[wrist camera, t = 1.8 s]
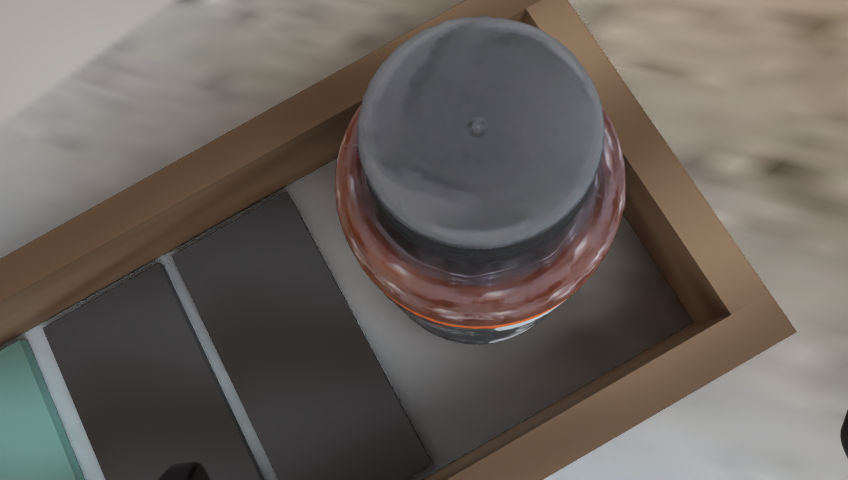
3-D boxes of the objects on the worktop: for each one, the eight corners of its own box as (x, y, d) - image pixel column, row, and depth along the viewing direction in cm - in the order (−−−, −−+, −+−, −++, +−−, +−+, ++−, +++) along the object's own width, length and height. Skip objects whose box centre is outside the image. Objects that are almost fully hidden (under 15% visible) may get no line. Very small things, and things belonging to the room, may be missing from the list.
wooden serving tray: (749, 336, 20) (796, 331, 17) (-114, 838, 19) (-220, 923, 16) (531, 12, 23) (539, -41, 20) (-234, 439, 22) (-345, 450, 19)
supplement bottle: (567, 350, 20) (675, 331, 9) (380, 340, 21) (273, 311, 10) (569, 169, 22) (669, -41, 10) (392, 164, 22) (309, -42, 11)
